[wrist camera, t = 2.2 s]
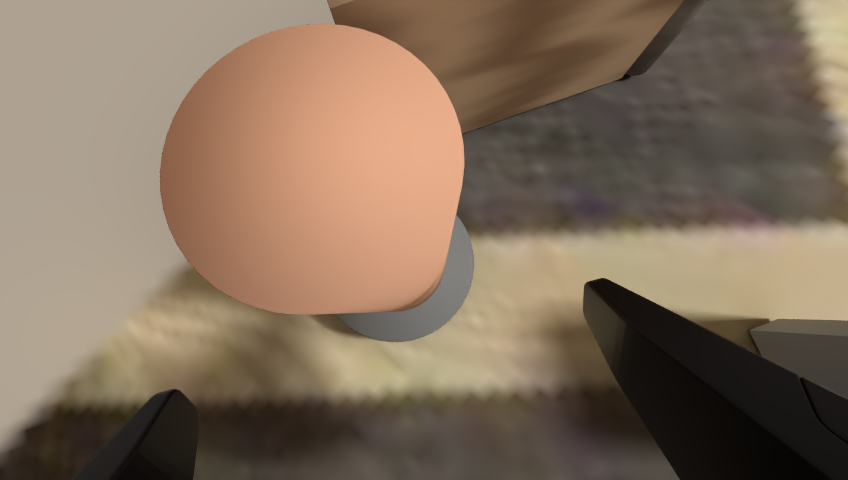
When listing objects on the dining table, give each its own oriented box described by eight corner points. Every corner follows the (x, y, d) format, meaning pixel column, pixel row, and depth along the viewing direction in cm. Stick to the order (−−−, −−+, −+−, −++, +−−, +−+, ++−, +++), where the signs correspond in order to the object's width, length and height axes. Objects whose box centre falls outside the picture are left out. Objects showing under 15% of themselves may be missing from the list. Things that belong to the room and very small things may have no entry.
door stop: (492, 309, 18) (641, 309, 5) (352, 360, 18) (123, 500, 5) (441, 177, 20) (454, -102, 6) (310, 223, 19) (35, 34, 6)
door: (634, 26, 20) (819, -238, 11) (656, 68, 20) (872, -167, 10) (368, 117, 20) (302, -71, 10) (384, 163, 19) (331, 13, 10)
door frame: (843, 444, 17) (1464, 649, 7) (812, 456, 17) (1390, 681, 7) (611, -3, 21) (773, -292, 11) (585, 6, 21) (725, -277, 11)
